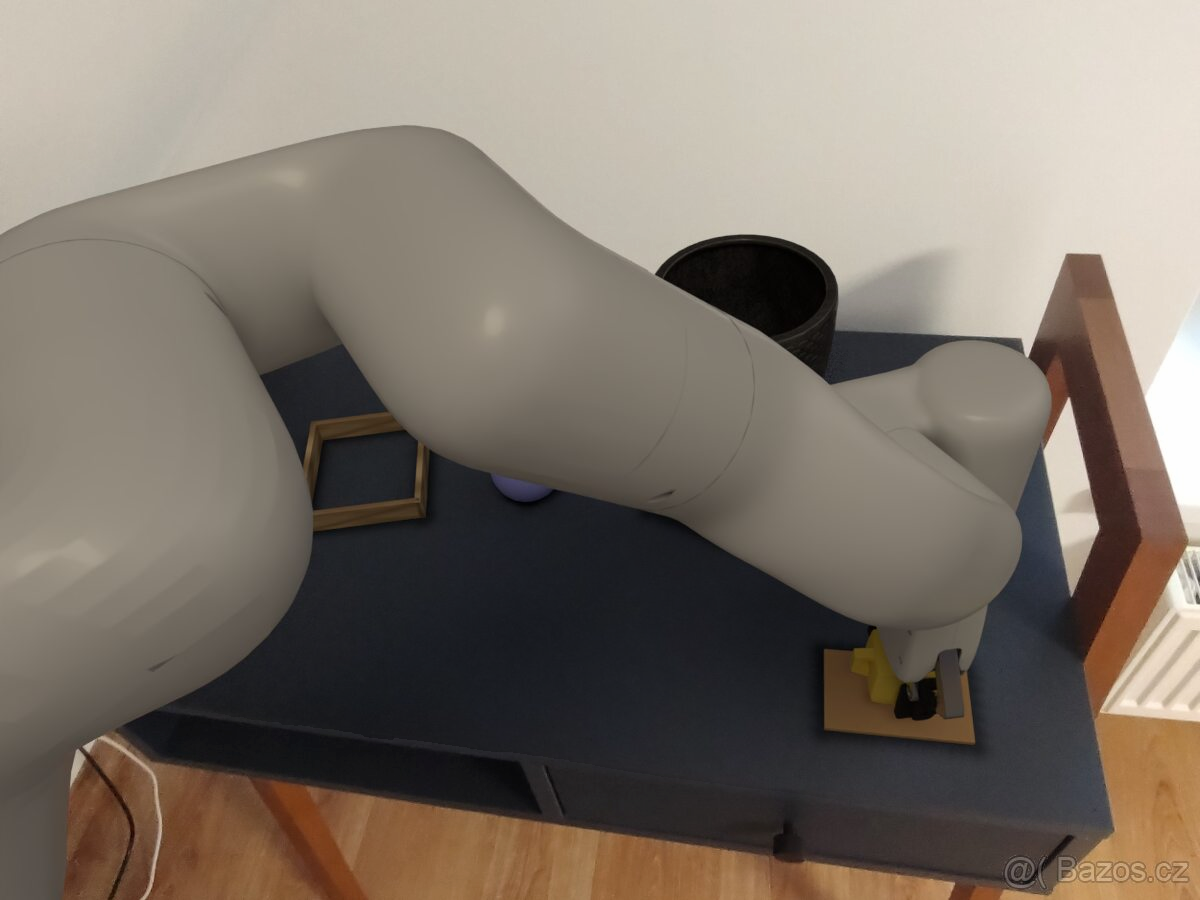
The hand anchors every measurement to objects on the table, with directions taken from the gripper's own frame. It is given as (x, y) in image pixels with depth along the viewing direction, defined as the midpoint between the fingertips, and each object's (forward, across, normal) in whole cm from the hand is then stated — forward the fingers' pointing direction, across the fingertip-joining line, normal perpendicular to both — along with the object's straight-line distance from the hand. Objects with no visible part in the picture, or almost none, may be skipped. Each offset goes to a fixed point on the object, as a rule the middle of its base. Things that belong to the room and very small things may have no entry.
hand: (901, 671), depth 71 cm
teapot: (+1, 0, 0) cm, 1 cm away
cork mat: (+4, 0, 0) cm, 4 cm away
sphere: (+4, -26, -28) cm, 39 cm away
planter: (+4, -34, -6) cm, 34 cm away
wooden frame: (+4, -31, -44) cm, 54 cm away
